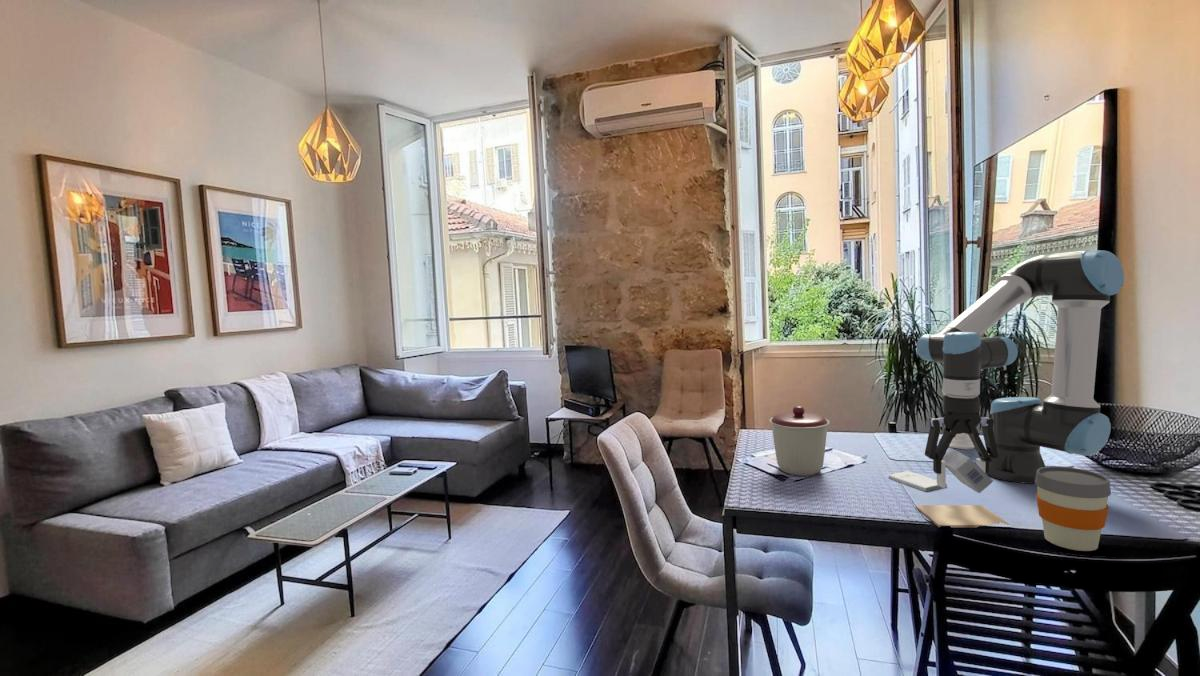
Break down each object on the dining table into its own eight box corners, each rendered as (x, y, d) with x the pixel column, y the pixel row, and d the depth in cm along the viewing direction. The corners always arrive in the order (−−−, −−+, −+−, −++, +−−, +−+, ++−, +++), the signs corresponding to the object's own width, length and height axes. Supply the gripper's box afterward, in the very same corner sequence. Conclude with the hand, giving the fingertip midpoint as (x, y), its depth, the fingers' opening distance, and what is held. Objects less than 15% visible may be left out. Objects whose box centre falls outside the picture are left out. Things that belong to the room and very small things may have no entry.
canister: (794, 458, 186) (792, 398, 184) (842, 471, 171) (841, 405, 169) (758, 470, 176) (756, 406, 174) (806, 485, 161) (805, 415, 159)
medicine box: (970, 457, 127) (951, 447, 135) (955, 470, 127) (937, 459, 136) (994, 481, 127) (973, 469, 135) (979, 494, 127) (959, 481, 136)
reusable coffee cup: (1126, 552, 114) (1128, 482, 112) (1071, 557, 113) (1072, 487, 111) (1070, 526, 126) (1071, 464, 125) (1019, 531, 125) (1020, 468, 124)
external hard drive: (925, 493, 151) (888, 479, 163) (946, 488, 154) (908, 475, 166) (925, 487, 151) (888, 474, 163) (946, 482, 154) (908, 470, 166)
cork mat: (981, 507, 139) (981, 505, 139) (1011, 527, 127) (1011, 525, 127) (915, 507, 141) (915, 505, 141) (938, 527, 129) (938, 525, 129)
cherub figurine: (970, 442, 193) (971, 382, 191) (991, 453, 181) (992, 388, 179) (934, 442, 195) (935, 382, 193) (952, 453, 182) (953, 388, 181)
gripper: (922, 399, 129) (922, 491, 131) (1018, 397, 127) (1016, 491, 128) (908, 393, 137) (908, 480, 138) (998, 391, 134) (997, 480, 136)
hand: (960, 485), depth 133 cm, fingers closed on medicine box, 8 cm apart
